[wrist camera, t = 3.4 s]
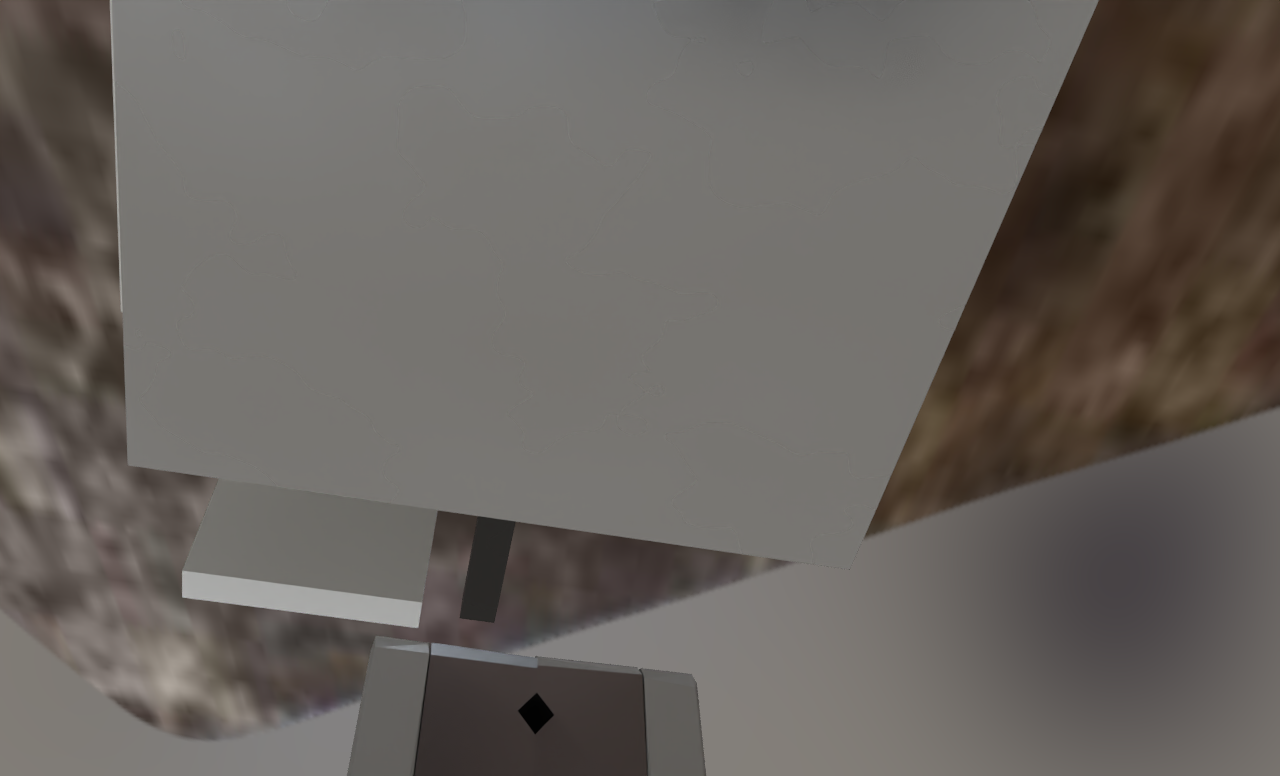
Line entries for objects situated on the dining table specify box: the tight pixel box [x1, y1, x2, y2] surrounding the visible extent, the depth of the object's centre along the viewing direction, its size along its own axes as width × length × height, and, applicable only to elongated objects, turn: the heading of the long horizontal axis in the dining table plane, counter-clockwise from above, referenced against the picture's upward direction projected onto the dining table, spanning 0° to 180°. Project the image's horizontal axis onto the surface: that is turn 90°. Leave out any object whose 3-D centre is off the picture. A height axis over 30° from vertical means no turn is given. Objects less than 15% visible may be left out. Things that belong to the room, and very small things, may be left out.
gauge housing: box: [110, 0, 438, 628], centre depth 24 cm, size 20×22×9 cm
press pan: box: [112, 0, 1099, 623], centre depth 23 cm, size 14×19×5 cm
